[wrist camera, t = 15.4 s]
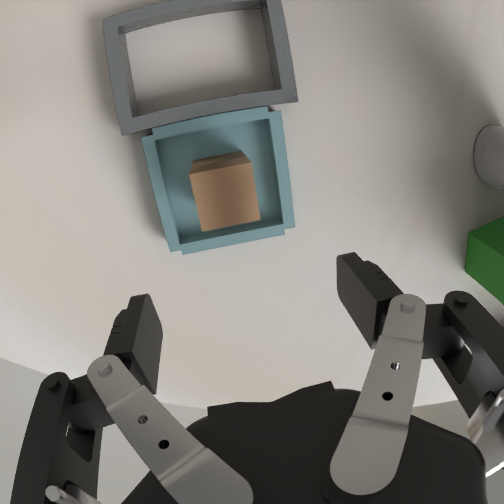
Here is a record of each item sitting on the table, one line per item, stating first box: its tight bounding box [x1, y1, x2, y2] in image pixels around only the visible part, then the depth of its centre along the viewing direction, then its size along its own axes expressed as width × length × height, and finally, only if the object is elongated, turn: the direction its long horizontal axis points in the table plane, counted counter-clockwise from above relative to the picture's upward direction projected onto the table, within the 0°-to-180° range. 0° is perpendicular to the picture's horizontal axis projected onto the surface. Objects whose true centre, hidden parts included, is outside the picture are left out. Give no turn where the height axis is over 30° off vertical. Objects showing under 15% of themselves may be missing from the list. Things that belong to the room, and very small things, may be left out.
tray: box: [141, 106, 295, 255], centre depth 31 cm, size 13×13×2 cm
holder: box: [102, 0, 298, 136], centre depth 25 cm, size 17×12×3 cm
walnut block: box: [189, 151, 261, 232], centre depth 28 cm, size 5×5×7 cm
